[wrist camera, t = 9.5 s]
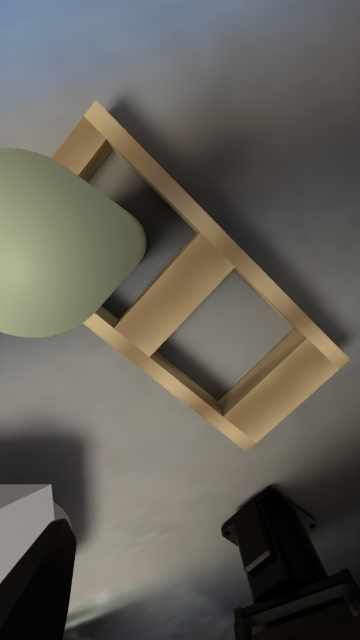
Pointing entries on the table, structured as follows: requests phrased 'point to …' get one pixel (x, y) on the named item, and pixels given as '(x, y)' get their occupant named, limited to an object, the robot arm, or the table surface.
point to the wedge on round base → (24, 520)
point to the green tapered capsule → (58, 246)
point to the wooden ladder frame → (190, 290)
